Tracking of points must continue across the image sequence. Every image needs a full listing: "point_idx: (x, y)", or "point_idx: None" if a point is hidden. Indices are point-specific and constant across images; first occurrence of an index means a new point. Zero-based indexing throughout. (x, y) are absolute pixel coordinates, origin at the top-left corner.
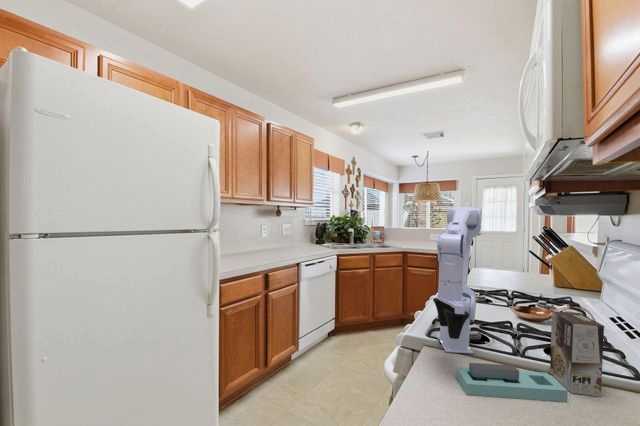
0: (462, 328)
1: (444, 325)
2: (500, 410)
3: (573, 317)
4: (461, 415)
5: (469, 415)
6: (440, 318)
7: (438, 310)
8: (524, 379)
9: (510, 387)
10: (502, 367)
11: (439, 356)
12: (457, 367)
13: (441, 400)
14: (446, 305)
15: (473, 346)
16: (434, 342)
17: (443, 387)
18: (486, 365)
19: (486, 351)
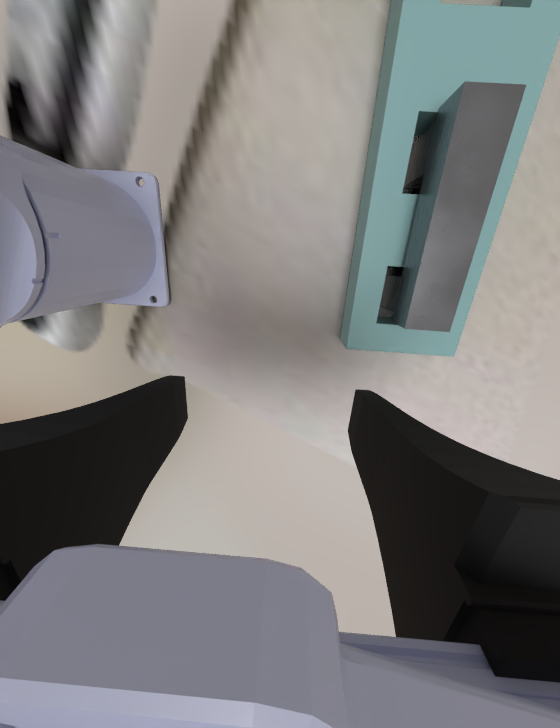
0: (76, 223)
1: (185, 402)
2: (524, 278)
3: None
4: (511, 396)
5: (517, 377)
6: (164, 451)
7: (129, 514)
8: (473, 64)
9: (505, 191)
10: (470, 176)
11: (205, 340)
12: (348, 345)
13: (445, 419)
14: (79, 510)
15: (71, 137)
16: (89, 319)
17: (390, 394)
18: (439, 258)
19: (109, 84)
